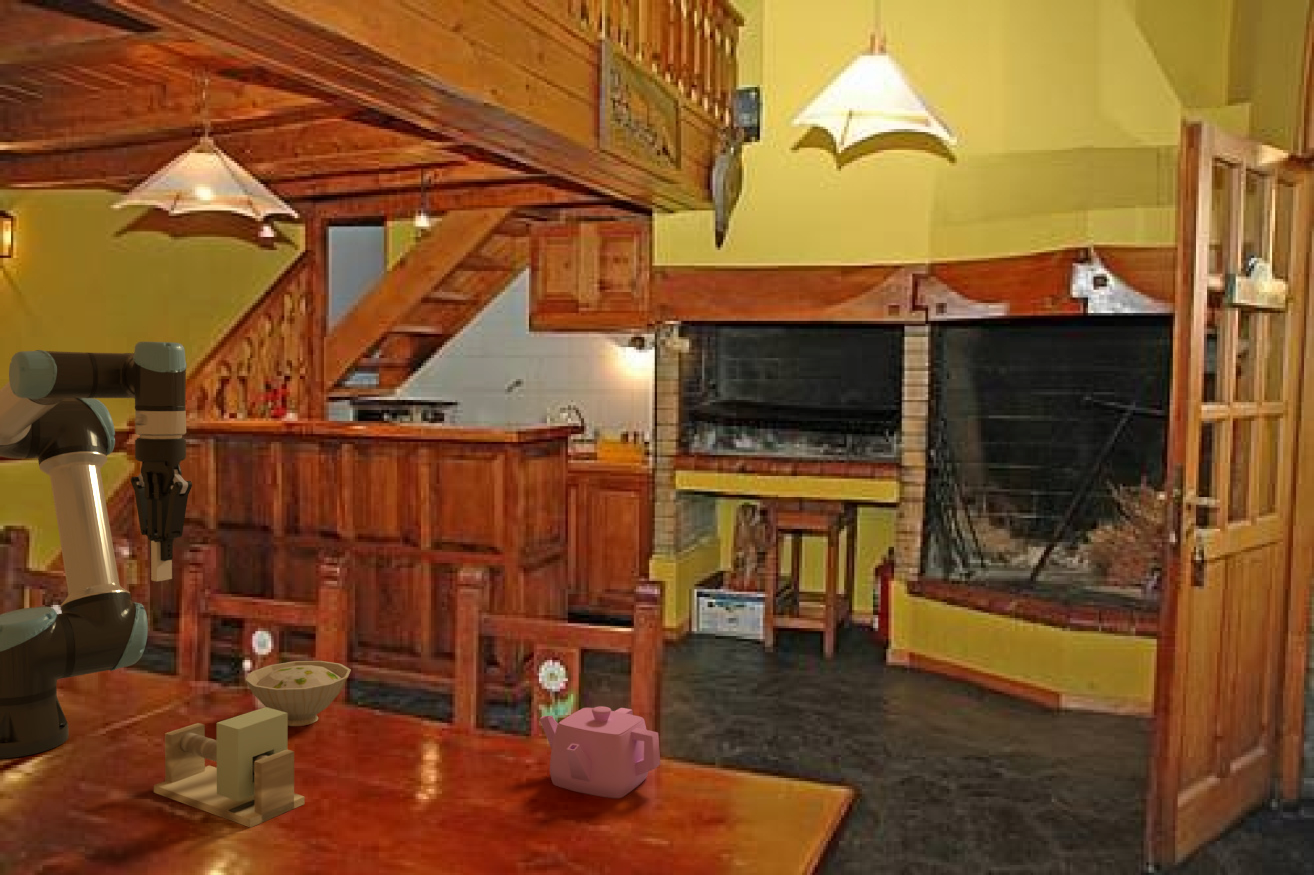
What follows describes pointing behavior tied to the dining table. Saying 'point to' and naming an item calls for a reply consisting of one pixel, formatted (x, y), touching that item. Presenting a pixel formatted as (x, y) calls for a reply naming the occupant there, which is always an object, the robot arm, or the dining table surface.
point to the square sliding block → (247, 748)
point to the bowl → (298, 688)
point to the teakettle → (601, 751)
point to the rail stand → (199, 783)
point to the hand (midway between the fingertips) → (161, 579)
